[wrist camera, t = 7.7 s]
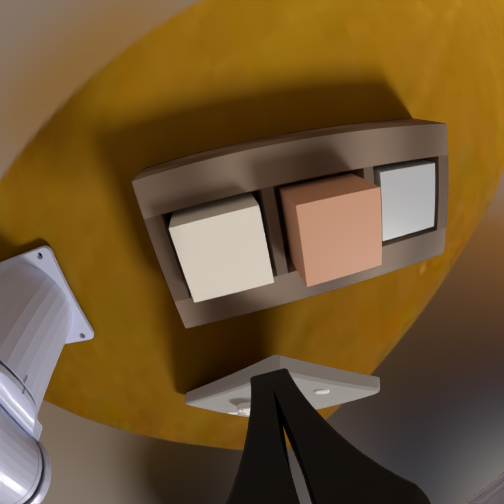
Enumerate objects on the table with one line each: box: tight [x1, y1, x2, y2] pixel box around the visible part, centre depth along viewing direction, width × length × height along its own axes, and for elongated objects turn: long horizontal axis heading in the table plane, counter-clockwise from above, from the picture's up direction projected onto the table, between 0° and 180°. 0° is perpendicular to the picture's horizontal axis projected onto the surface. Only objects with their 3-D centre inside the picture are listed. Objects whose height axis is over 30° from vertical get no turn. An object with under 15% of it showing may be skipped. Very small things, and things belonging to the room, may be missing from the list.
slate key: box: [373, 159, 435, 241], centre depth 17 cm, size 4×4×3 cm
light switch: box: [185, 355, 380, 417], centre depth 22 cm, size 8×6×14 cm
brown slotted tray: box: [132, 119, 448, 328], centre depth 17 cm, size 18×9×4 cm, turn 101°
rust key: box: [279, 174, 382, 287], centre depth 15 cm, size 4×4×3 cm
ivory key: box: [169, 192, 274, 303], centre depth 16 cm, size 4×4×3 cm
